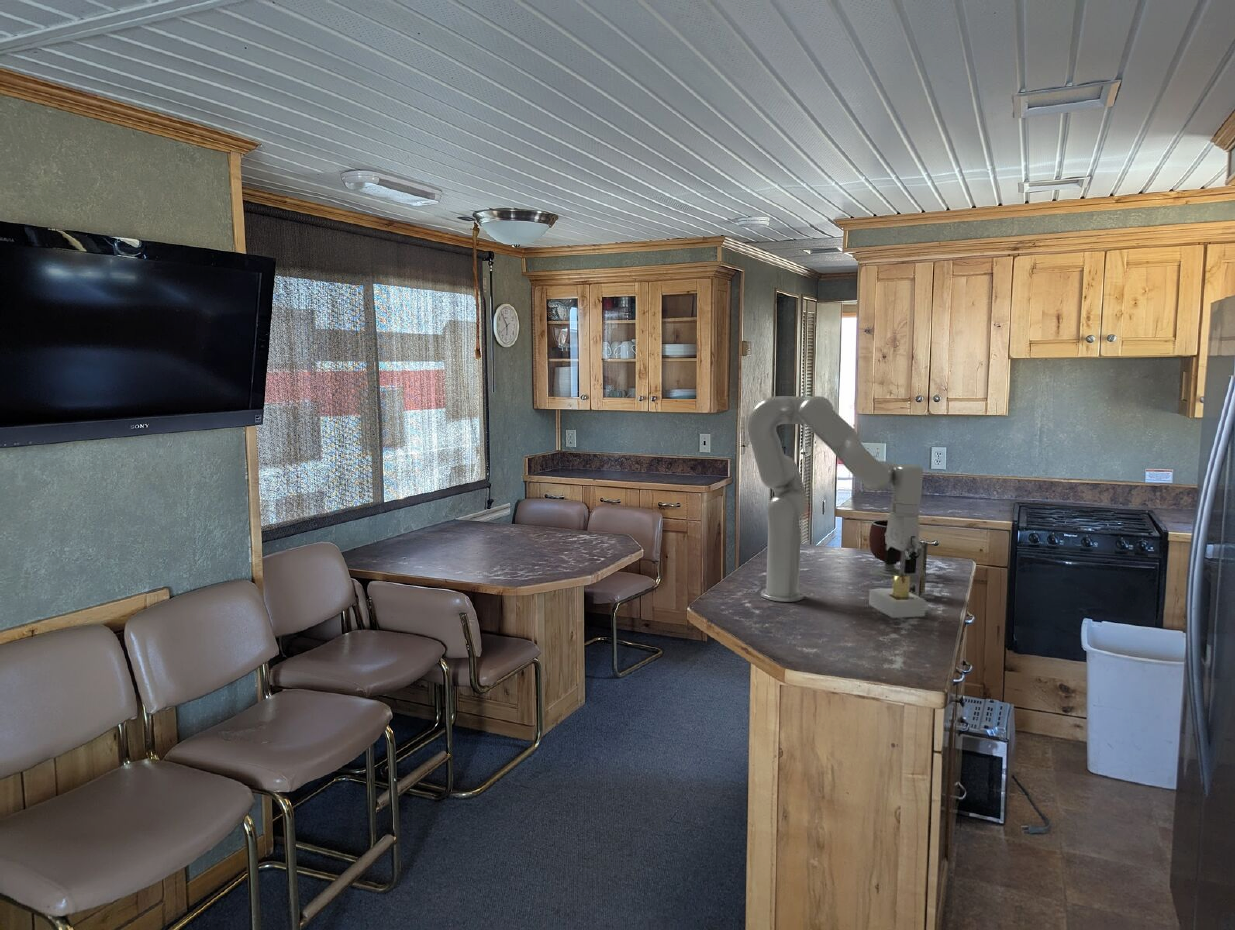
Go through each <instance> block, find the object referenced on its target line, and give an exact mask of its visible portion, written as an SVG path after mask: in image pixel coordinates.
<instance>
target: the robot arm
mask: <svg viewBox="0 0 1235 930" xmlns="http://www.w3.org/2000/svg"><path fill="white" fill-rule="evenodd" d="M780 425H805V426H806V427H807V428H808V429H809V430H810V431H811V432H813V434H815V435H816V436H817V438H818V439H820V441H822V442H823V443H824V444H825V445H826V447H828V449H830V450H831V451H832V453H833V454H835V456H836V457H837V459H838V460H839V461H840V462H841V463H842V464H843V466H844V467H845V468H846V469H847V471H849V472H850V473H851V474H852V475H853V476H854V477H855V479H857V480H858V481H859V483H862V485H864V486H865V487H866V488H867V489H868V490H871V491H874V492H880V491H883V490H885V489H887V488H892V497H891V507H890V509H891V511H890V512H889V514H888V515H889V516H888V519H887V520H888V524H887V530H886V533H885V543H886V550H888V551H887V553H886V564H887V565H890V564H894V565H897V563H898V562H897V554H898V551H897V550H899V551H905V554H906V557H907V559H905V568H904V573H906V574H911V573H915V572H916V562H917V560H918V556H919V555H920V552H921V549H922V546H921V545H920V543H919V542H920V541H919V540H920V517H919V516H920V513H921V512H920V510H921V501H922V499H921V498H922V490H923V489H922V488H923V480H924V479H923V478H924V470H923V468H922V467H921V466H919V465H915V464H906V463H905V464H898V463H894V462H890V461H885V460H877V459H876V458H875V456H873V455H872V454H871V453H870V452H869V451H868V450H867V449H866V447H865V446H864V445H863V444H862V442H861V441H860V438H859V435H858V433H857V431H856V430H855V429H854V428H853V427H852V426H851V425H850V424H849V423H848V421H847V422H846V420H845V419H844V418H843V417H842V416H841V415H839V414H838V413H837V412H836V411H835V410H834V407H833V405H832V402H831V401H830V400H829V399H827V398H826V397H825V396H821V395H819V396H818V395H817V396H816V395H815V396H796V395H795V396H792V395H791V396H789V395H788V396H787V395H782V396H781V395H779V396H778V395H777V396H770V397H767V398H764V399H763V400H761V401H760V402H758V403H757V404H756V405H755V407H754V408H753V409H752V410H751V412H750V414H749V416H748V420H747V433H748V438H749V440H750V444H751V448H752V453H753V455H754V459H755V463H756V465H757V466H756V467H757V469H758V473H759V477H760V480H761V482H762V483H763V485H764V486H765V487H766V488H768V489H771V490H772V492H773V493H774V494H773V497H772V498H771V499H770V500H769V502H768V506H767V510H766V516H767V517H766V519H767V554H766V555H767V556H766V560H767V561H766V580H765V582H766V585H765V588H763V589H761V590H760V596H761V597H762V598H763V599H765V600H770V601H775V602H783V603H788V602H789V603H790V602H791V603H792V602H793V603H794V602H798V601H801V600H803V599H804V593H803V591H801V590H799V582H800V581H799V580H800V560H801V559H800V558H801V518H802V517H803V516H804V515H805V514H806V512H807V511H808V507H809V501H808V496H807V492H806V490H805V486H804V482H803V480H802V476H801V472H800V469H799V467H798V465H797V463H796V462H795V460H794V459H793V458H792V457H790V456H788V455H785V452H784V449H783V445H782V441H781V439H780V437H779V434H778V432H777V427H778V426H780ZM896 549H897V550H896ZM909 552H912V553H911V554H910V553H909Z"/></svg>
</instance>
